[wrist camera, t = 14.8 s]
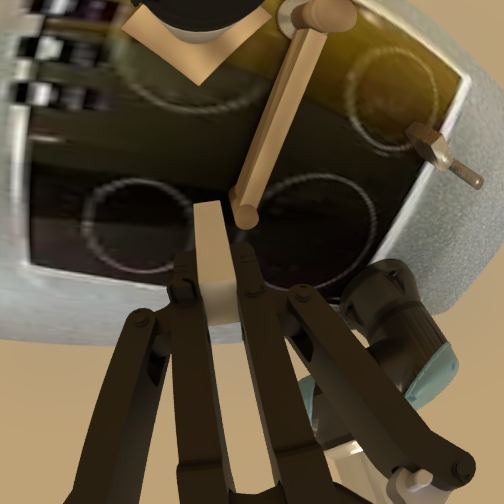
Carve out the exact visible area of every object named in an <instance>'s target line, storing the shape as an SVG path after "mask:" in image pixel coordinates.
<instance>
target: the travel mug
mask: <svg viewBox="0 0 504 504" xmlns="http://www.w3.org/2000/svg"><path fill="white" fill-rule="evenodd" d="M130 1H131V3H132V4H133V5H134V6H135V7H137V6H139V4H138V3H141V2H142V3H143V4H144V5H145V6H146V7H147V8H148V9H149V10H150V11H151V13H152V14H153V15H154V17H156V18H157V19H158V20H159V21H160V22H161V23H162V24H163V25H164V26H165V27H166V28H167V29H168V30H169V31H170V32H171V33H172V34H173V35H174V36H175V37H176V38H178V39H179V40H181V41H183V42H186V43H190V44H202V43H207V42H209V41H212V40H214V39H216V38H217V37H219V36H220V35H221V34H223V33H224V32H226V31H227V30H229V29H230V28H232V27H233V26H235V25H236V24H238V23H239V22H240V21H242V20H243V19H244V18H246V17H247V16H248V15H249V14H250V13H252V12H253V11H254V10H256V9H257V8H258V7H259V6H260V5H261V4H262V3H263V2H264V1H265V0H130Z"/></svg>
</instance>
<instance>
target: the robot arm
mask: <svg viewBox="0 0 504 504" xmlns="http://www.w3.org/2000/svg"><path fill="white" fill-rule="evenodd" d="M194 222H195V239H196V250H192V251H185V252H178V253H177V255H176V257H175V259H174V279H173V280H172V281H171V282H170V283H169V284H168V286H167V289H166V290H167V293H168V296H169V299H170V303H169V304H168V305H167V306H166V307H164V308H162V309H160V310H158V311H155V312H153V311H152V310H150V309H147V308H139V309H137V310H134V311H133V312H132V313H130V314H129V316H128V317H127V319H126V321H125V324H124V326H123V329H122V332H121V334H120V337H119V339H118V342H117V345H116V347H115V350H114V353H113V356H112V358H111V361H110V364H109V367H108V370H107V372H106V376H105V378H104V381H103V384H102V387H101V390H100V393H99V396H98V399H97V402H96V405H95V409H94V412H93V415H92V419H91V422H90V425H89V428H88V432H87V435H86V439H85V443H84V446H83V450H82V453H81V457H80V461H79V465H78V469H77V473H76V477H75V481H74V486H73V490H72V491H71V493H70V494H69V496H68V497H67V499H66V500H65V502H64V503H63V504H139V500H140V494H141V489H142V483H143V478H144V472H145V467H146V462H147V457H148V452H149V447H150V442H151V437H152V432H153V428H154V423H155V419H156V414H157V410H158V405H159V401H160V396H161V392H162V388H163V384H164V379H165V375H166V371H167V367H168V363H169V359H170V354H172V375H173V376H172V377H173V394H174V411H175V423H176V435H177V446H178V455H179V464H178V466H177V470H176V475H177V485H178V493H179V500H180V504H444V503H445V501H446V500H447V499H448V497H449V495H450V493H451V492H452V491H453V490H455V489H457V488H460V487H462V486H464V485H466V484H467V483H469V482H470V481H471V479H472V478H473V476H474V474H475V471H476V463H475V460H474V458H473V457H472V456H471V455H470V454H469V453H468V452H466V451H464V450H463V449H461V448H459V447H458V446H456V445H454V444H452V443H451V442H449V441H447V440H446V439H444V438H443V437H441V436H439V435H438V434H436V433H434V432H433V431H431V430H430V429H429V427H428V426H427V425H426V423H425V422H424V421H423V420H422V418H421V417H420V416H419V415H418V413H417V412H416V410H418V409H420V408H421V407H423V406H424V405H426V404H427V403H429V402H430V401H431V400H433V399H434V398H435V397H436V396H437V395H438V394H440V393H441V392H442V391H443V390H444V389H445V388H446V387H447V386H448V385H449V383H450V382H451V381H452V380H453V378H454V377H455V375H456V373H457V371H458V367H459V364H458V359H457V357H456V355H455V354H454V352H453V350H452V348H451V344H450V342H448V341H447V339H446V338H445V336H444V335H443V333H442V332H441V330H440V329H439V327H438V326H437V324H436V323H435V321H434V320H433V318H432V317H431V315H430V314H429V312H428V311H427V309H426V308H425V307H424V305H423V304H422V302H421V300H420V296H419V292H418V289H417V285H416V282H415V278H414V276H413V274H412V272H411V271H410V269H409V268H408V267H407V265H406V264H405V263H403V262H402V261H399V260H393V259H391V260H384V261H380V262H377V263H375V264H372V265H370V266H368V267H367V268H365V269H364V270H362V271H361V272H360V273H358V274H357V275H356V276H355V277H354V278H353V279H352V280H351V281H350V282H349V283H348V285H347V286H346V287H345V289H344V291H343V293H342V295H341V298H340V309H341V311H342V313H343V315H344V317H345V319H346V320H347V322H348V323H349V324H351V325H352V326H353V327H354V328H355V329H356V330H357V331H358V332H359V333H361V334H362V335H363V336H364V337H365V338H366V339H367V341H368V343H369V345H370V346H369V347H367V348H365V347H364V346H363V345H362V344H361V343H360V341H359V340H358V339H357V338H356V336H355V335H354V334H353V333H352V332H351V330H350V329H349V328H348V327H347V326H346V324H345V323H344V322H343V321H342V320H341V318H340V317H339V316H338V315H337V314H336V312H335V311H334V310H333V309H332V308H331V306H330V305H329V304H328V303H327V302H326V300H325V299H324V298H323V297H322V296H321V295H320V293H319V292H318V291H317V290H316V289H315V288H314V287H312V286H310V285H307V284H297V285H294V286H293V287H291V288H290V289H289V291H288V292H287V291H278V290H274V289H271V288H270V287H268V286H267V285H266V284H265V283H264V281H263V278H262V274H261V271H260V268H259V265H258V261H257V258H256V256H255V252H254V249H253V247H252V246H251V245H250V244H249V243H248V242H243V243H236V244H229V243H228V239H227V234H226V229H225V224H224V219H223V214H222V209H221V204H220V200H219V201H212V202H205V203H198V204H194ZM235 322H241V330H242V340H243V341H244V345H245V350H246V355H247V360H248V364H249V369H250V373H251V378H252V383H253V387H254V392H255V397H256V401H257V406H258V410H259V415H260V419H261V424H262V428H263V433H264V437H265V441H266V446H267V450H268V454H269V458H270V463H271V467H272V474H273V479H274V483H275V487H273V488H270V489H268V490H266V491H264V492H261V493H259V494H241V493H236V489H235V485H234V481H233V477H232V473H231V469H230V463H229V458H228V452H227V447H226V441H225V435H224V429H223V423H222V417H221V411H220V404H219V398H218V391H217V384H216V377H215V370H214V363H213V356H212V348H211V340H210V334H209V330H208V326H215V325H222V324H228V323H235ZM284 336H286V338H287V340H288V341H289V343H290V344H291V345H292V347H293V349H294V350H295V351H296V353H297V355H298V356H299V358H300V359H301V361H302V362H303V363H304V365H305V367H306V368H307V370H308V371H309V373H310V374H311V375H309V376H307V377H305V378H302V379H301V380H299V381H297V378H296V375H295V372H294V368H293V365H292V362H291V359H290V355H289V352H288V349H287V346H286V343H285V339H284ZM325 456H327V457H330V458H331V459H333V460H334V462H335V465H336V468H337V470H338V473H339V476H340V478H341V481H342V483H343V485H341V484H339V483H336V482H333V481H332V477H331V474H330V471H329V468H328V464H327V461H326V458H325Z"/></svg>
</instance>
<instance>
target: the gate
mask: <svg viewBox="0 0 504 504" xmlns="http://www.w3.org/2000/svg"><path fill="white" fill-rule="evenodd" d="M356 19H357V13H356V9H355V7H354V5H353V4H352V3H351V2H350V1H349V0H312V1H309V2H306V3H304V4H301V5H298V6H296V7H295V8H294V9H293V11H292V13H291V22H292V24H293V26H294V27H295V28H296V29H297V30H296V32H295V34H294V37H293V39H292V42H291V44H290V46H289V49H288V51H287V54H286V56H285V59H284V61H283V64H282V66H281V68H280V71H279V73H278V76H277V78H276V81H275V84H274V86H273V89H272V91H271V94H270V96H269V99H268V101H267V104H266V107H265V109H264V112H263V114H262V117H261V120H260V122H259V125H258V127H257V130H256V133H255V135H254V138H253V141H252V143H251V146H250V149H249V152H248V154H247V157H246V160H245V162H244V165H243V168H242V171H241V173H240V176H239V179H238V182H237V184H236V185H234V186H233V187H232V188H231V189H230V190H229V199H230V203H231V206H232V210H233V214H234V218H235V222H236V225H237V226H238V227H239V228H241V229H251V228H253V227H254V226H256V224H257V223H258V220H259V217H258V214H257V211H256V209H257V206H258V204H259V201H260V199H261V196H262V194H263V191H264V189H265V186H266V184H267V182H268V179H269V177H270V174H271V172H272V169H273V167H274V164H275V162H276V159H277V157H278V154H279V152H280V149H281V147H282V145H283V142H284V140H285V137H286V135H287V132H288V130H289V127H290V125H291V123H292V120H293V118H294V115H295V113H296V110H297V108H298V106H299V103H300V101H301V98H302V96H303V93H304V91H305V89H306V86H307V84H308V81H309V79H310V77H311V74H312V72H313V69H314V67H315V65H316V62H317V60H318V57H319V55H320V53H321V50H322V48H323V46H324V43H325V41H326V38H327V36H326V35H324V34H322V33H327V32H344V31H347V30H349V29H351V28H352V27H353V26H354V25H355V23H356Z"/></svg>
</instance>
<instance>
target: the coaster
mask: <svg viewBox="0 0 504 504" xmlns="http://www.w3.org/2000/svg"><path fill="white" fill-rule="evenodd" d="M270 18H272V16H271V15H270V14H269V13H268V12H266V11H265V10H264V9H263V8H262V7H261V6H259V7H258V8H257V9H256V10H254V11H253V12H252V13H250V14H249V15H248V16H247V17H246V18H244V19H243V20H242V21H240V22H239V23H238V24H236V25H235V26H233V27H232V28H230V29H229V30H227V31H226V32H224V33H223V34H221V35H220V36H219V37H217V38H216V39H214V40H212V41H209V42H207V43H202V44H190V43H186V42H183V41H181V40H179V39H178V38H176V37H175V36H174V35H173V34H172V33H171V32H170V31H169V30H168V29H167V28H166V27H165V26H164V25H163V24H162V23H161V22H160V21H159V20H158V19H157V18H156V17H154V15H153V14H152V13H151V11H150V10H149V9H148V8H147V7H146V6H145V5H144V4H143V5H142V6H141V7H140V8H139V9H138V10H137V11H136V12H135V14H134V15H133V16H132V17H131V18H130V19H129V20H128V21H127V22H126V24H125V25H124V26H123V27H122V28H121V29H122V30H124V31H125V32H127V33H128V34H129V35H131V36H132V37H134V38H135V39H137V40H138V41H140V42H141V43H142V44H144V45H145V46H147V47H148V48H149V49H151V50H152V51H153V52H155V53H156V54H158V55H159V56H160V57H162V58H163V59H164V60H166V61H167V62H168V63H170V64H171V65H172V66H174V67H175V68H176V69H178V70H179V71H180V72H181V73H183V74H184V75H185V76H187V77H188V78H189V79H190V80H192V81H193V82H194V83H195V84H197V85H198V86H200V84H201V83H202V82H203V81H204V80H205V79H206V78H207V77H208V76H209V75H210V74H211V73H212V72H213V71H214V70H215V69H216V68H217V67H218V66H219V65H220V64H221V63H222V62H223V61H224V60H225V59H226V58H227V57H228V56H229V55H230V54H231V53H232V52H233V51H234V50H235V49H237V48H238V47H239V46H240V45H241V44H242V43H243V42H244V41H245V40H246V39H247V38H248V37H250V36H251V35H252V34H253V33H254V32H255V31H256V30H257V29H259V28H260V27H261V26H262V25H263V24H264V23H266V22H267V21H268V20H269V19H270Z"/></svg>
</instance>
